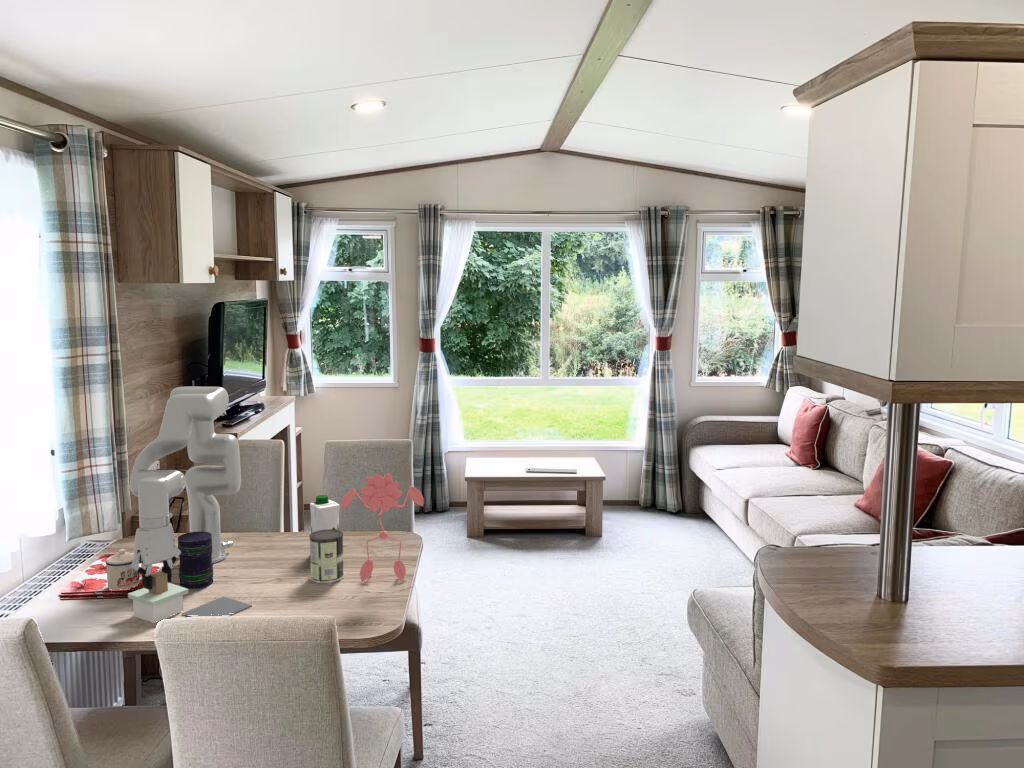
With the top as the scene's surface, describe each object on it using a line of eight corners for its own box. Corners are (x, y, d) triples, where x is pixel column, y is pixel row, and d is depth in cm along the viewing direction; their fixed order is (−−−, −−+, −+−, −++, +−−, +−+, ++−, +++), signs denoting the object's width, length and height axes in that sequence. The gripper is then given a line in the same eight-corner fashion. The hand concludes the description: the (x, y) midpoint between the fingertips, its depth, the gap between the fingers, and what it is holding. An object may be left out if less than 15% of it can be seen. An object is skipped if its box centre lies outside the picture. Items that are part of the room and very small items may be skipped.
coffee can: (331, 569, 251) (330, 527, 250) (350, 577, 244) (349, 534, 243) (303, 577, 244) (302, 534, 242) (322, 586, 237) (321, 541, 235)
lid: (163, 584, 223) (163, 564, 222) (188, 593, 217) (187, 571, 216) (128, 597, 213) (126, 576, 212) (152, 606, 208) (151, 584, 207)
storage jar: (175, 582, 239) (173, 535, 237) (208, 575, 245) (206, 529, 243) (184, 592, 231) (182, 543, 229) (218, 585, 237) (216, 537, 235)
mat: (223, 597, 227) (223, 596, 227) (251, 606, 221) (251, 605, 221) (182, 614, 215) (181, 613, 215) (210, 624, 209) (210, 622, 209)
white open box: (162, 605, 222) (162, 586, 221) (183, 612, 217) (182, 593, 217) (133, 616, 214) (132, 597, 213) (154, 623, 210) (153, 604, 209)
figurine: (344, 574, 247) (342, 467, 242) (425, 575, 247) (425, 468, 242) (334, 594, 232) (332, 480, 226) (420, 595, 232) (420, 481, 227)
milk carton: (331, 548, 271) (330, 493, 268) (343, 556, 264) (342, 498, 261) (308, 554, 265) (306, 497, 263) (319, 561, 258) (318, 503, 256)
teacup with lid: (118, 595, 228) (116, 557, 227) (100, 588, 233) (98, 551, 231) (155, 582, 238) (153, 545, 237) (137, 576, 243) (135, 540, 242)
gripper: (173, 511, 222) (175, 573, 224) (116, 527, 207) (120, 592, 209) (190, 516, 218) (192, 578, 220) (134, 531, 203) (137, 598, 205)
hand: (157, 584), depth 215 cm, fingers open, 5 cm apart
